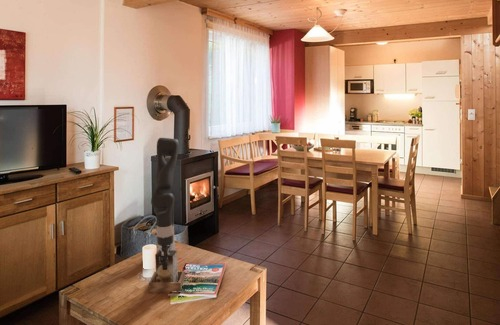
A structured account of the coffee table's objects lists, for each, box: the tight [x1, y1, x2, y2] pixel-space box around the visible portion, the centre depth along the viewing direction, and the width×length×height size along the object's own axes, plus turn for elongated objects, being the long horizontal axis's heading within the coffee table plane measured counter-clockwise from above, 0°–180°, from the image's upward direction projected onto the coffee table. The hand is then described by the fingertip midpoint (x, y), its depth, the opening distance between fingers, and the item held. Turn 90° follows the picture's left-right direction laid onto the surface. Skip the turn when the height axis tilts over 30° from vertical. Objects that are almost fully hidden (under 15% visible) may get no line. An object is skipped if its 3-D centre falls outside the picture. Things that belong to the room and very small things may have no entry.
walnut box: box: [148, 270, 186, 294], centre depth 180 cm, size 15×12×5 cm
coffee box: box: [154, 249, 179, 282], centre depth 179 cm, size 9×6×16 cm
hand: (166, 266), depth 179 cm, fingers closed on coffee box, 7 cm apart
